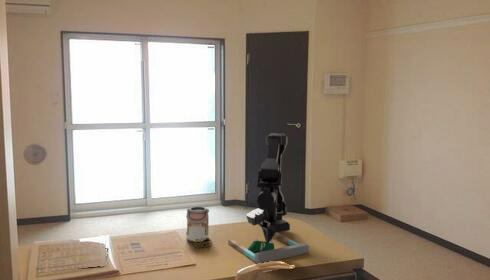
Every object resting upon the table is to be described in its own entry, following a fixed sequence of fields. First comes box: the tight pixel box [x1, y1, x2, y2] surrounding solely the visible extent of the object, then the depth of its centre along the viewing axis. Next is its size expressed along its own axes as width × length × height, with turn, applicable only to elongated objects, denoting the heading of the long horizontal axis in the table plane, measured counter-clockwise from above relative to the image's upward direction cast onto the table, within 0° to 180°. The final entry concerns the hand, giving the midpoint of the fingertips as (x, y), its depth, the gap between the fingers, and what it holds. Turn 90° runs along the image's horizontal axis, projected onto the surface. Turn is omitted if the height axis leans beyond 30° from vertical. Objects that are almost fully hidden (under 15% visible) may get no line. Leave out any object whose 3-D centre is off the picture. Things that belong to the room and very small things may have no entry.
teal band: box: [242, 239, 299, 262], centre depth 151 cm, size 8×21×2 cm, turn 120°
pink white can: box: [186, 206, 210, 242], centre depth 161 cm, size 9×8×12 cm
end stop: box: [254, 242, 309, 264], centre depth 146 cm, size 2×21×3 cm, turn 120°
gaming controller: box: [247, 238, 275, 253], centre depth 150 cm, size 9×4×6 cm
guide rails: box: [227, 232, 292, 254], centre depth 159 cm, size 11×21×2 cm, turn 120°
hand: (268, 243), depth 154 cm, fingers closed
